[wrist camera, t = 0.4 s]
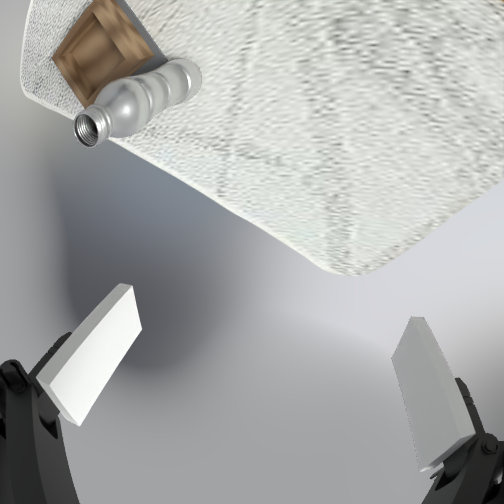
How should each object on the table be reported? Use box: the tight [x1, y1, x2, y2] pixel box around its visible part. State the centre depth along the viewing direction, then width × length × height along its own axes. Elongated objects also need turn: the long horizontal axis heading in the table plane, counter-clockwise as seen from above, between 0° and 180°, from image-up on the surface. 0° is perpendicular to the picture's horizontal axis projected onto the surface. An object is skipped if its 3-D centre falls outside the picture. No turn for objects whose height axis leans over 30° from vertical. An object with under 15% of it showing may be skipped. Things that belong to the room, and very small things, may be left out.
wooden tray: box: [52, 0, 154, 109], centre depth 28 cm, size 14×14×4 cm
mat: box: [115, 0, 167, 76], centre depth 29 cm, size 18×16×1 cm
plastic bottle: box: [73, 59, 202, 148], centre depth 25 cm, size 6×7×20 cm
